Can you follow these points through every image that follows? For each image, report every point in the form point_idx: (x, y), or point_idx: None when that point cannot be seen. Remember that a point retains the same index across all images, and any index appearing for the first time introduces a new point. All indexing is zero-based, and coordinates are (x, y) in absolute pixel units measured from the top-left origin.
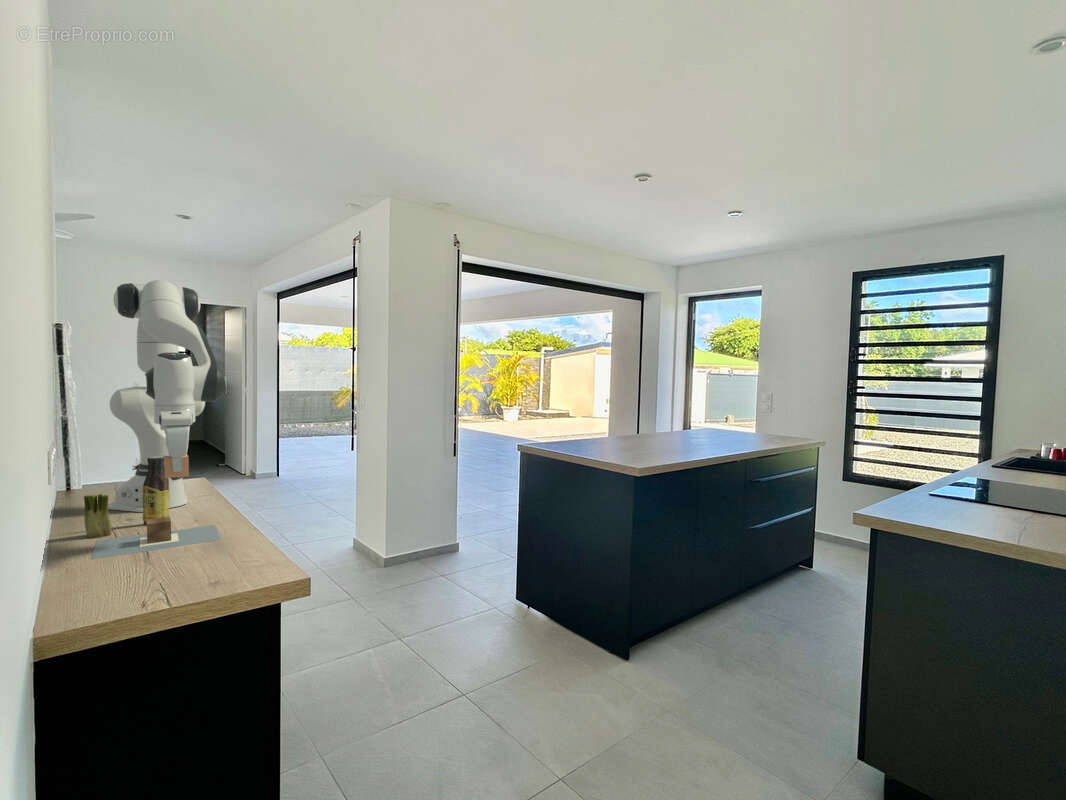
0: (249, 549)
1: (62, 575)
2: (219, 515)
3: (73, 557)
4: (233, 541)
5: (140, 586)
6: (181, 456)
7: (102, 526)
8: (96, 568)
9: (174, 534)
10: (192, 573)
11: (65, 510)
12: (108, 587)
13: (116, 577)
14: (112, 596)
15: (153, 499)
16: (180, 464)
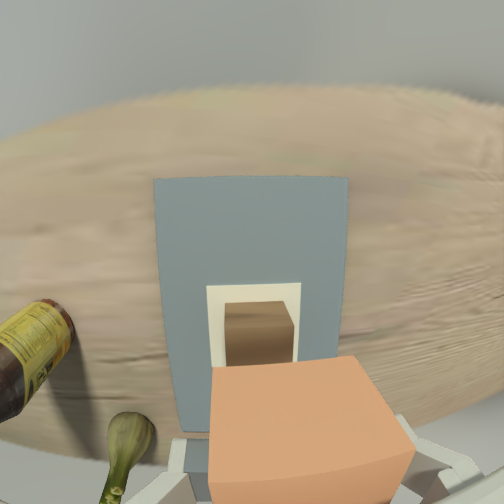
0: (425, 129)
1: None
2: (17, 169)
3: None
4: (339, 145)
5: (487, 323)
6: (474, 468)
7: (144, 439)
8: None
9: (218, 293)
10: (489, 253)
11: None
12: (462, 363)
13: (431, 364)
14: (492, 349)
15: (41, 372)
16: (416, 442)
